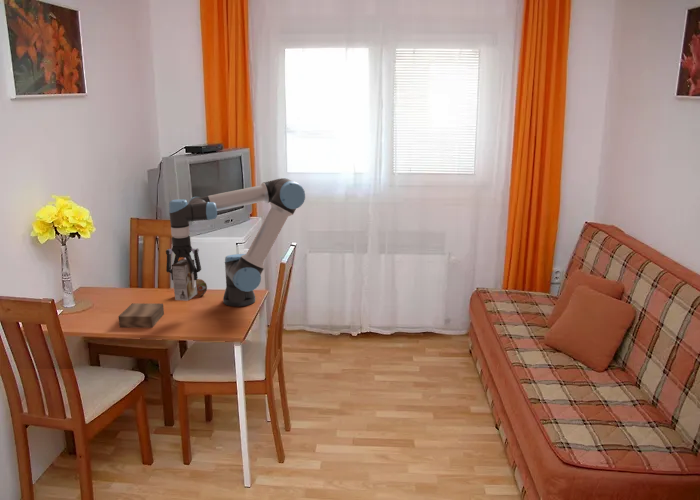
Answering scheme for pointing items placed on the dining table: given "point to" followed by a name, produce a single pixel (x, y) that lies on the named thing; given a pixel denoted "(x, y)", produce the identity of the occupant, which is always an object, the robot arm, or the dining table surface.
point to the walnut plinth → (141, 315)
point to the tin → (201, 287)
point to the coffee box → (183, 280)
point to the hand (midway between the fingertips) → (185, 287)
